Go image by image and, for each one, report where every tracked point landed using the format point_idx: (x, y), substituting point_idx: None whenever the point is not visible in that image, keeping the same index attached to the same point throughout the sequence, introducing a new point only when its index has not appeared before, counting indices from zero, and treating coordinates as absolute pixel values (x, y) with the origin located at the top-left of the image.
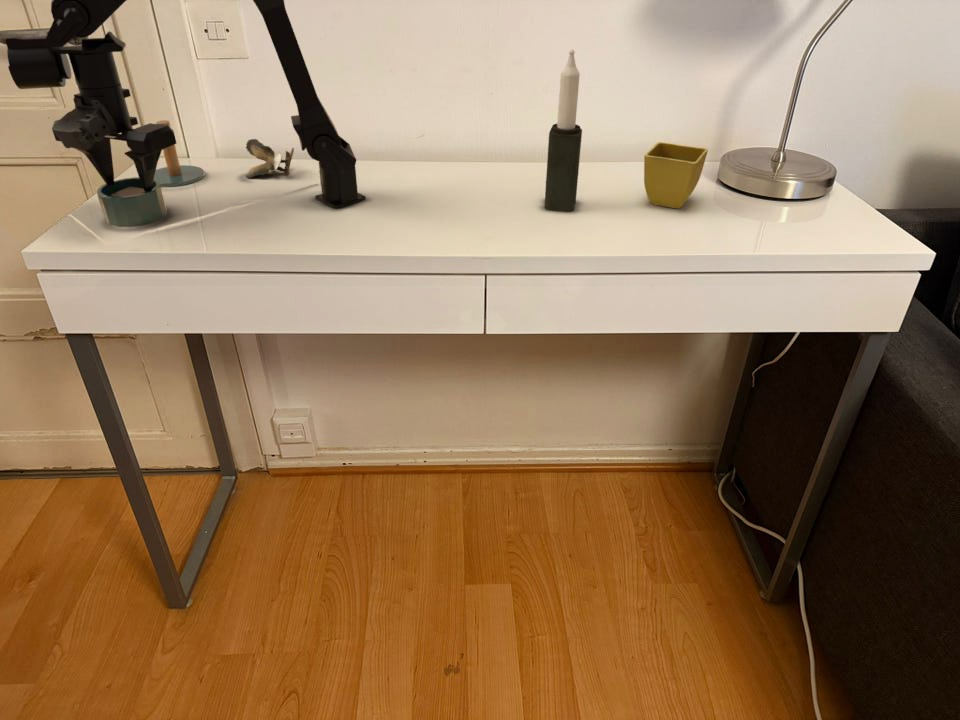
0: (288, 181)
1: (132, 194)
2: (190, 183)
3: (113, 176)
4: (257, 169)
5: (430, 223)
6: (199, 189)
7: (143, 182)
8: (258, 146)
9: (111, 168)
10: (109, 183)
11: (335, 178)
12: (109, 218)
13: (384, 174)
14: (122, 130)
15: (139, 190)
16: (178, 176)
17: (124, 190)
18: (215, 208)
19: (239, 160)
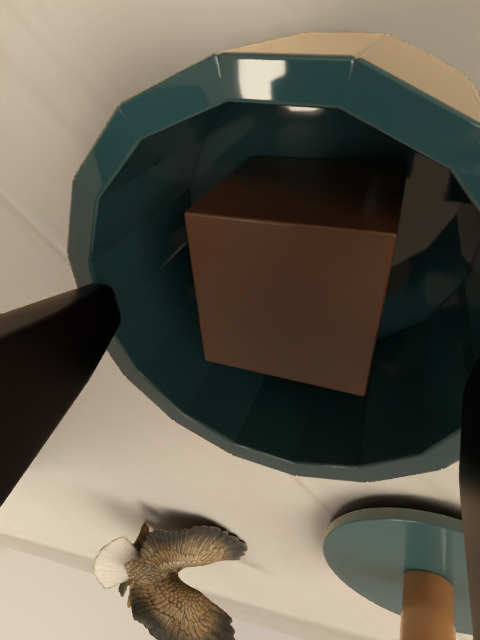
0: (131, 507)
1: (227, 273)
2: (334, 520)
3: (462, 453)
4: (175, 549)
5: None
6: (295, 489)
7: (26, 309)
8: (165, 627)
9: (469, 533)
10: (477, 369)
11: None
12: (368, 36)
13: (30, 512)
14: None
15: (244, 342)
16: (400, 564)
17: (343, 329)
18: None
19: (333, 622)
